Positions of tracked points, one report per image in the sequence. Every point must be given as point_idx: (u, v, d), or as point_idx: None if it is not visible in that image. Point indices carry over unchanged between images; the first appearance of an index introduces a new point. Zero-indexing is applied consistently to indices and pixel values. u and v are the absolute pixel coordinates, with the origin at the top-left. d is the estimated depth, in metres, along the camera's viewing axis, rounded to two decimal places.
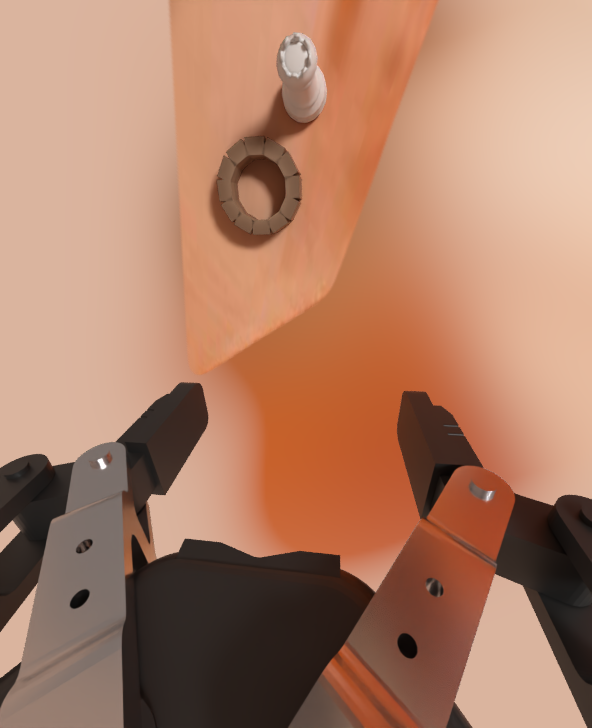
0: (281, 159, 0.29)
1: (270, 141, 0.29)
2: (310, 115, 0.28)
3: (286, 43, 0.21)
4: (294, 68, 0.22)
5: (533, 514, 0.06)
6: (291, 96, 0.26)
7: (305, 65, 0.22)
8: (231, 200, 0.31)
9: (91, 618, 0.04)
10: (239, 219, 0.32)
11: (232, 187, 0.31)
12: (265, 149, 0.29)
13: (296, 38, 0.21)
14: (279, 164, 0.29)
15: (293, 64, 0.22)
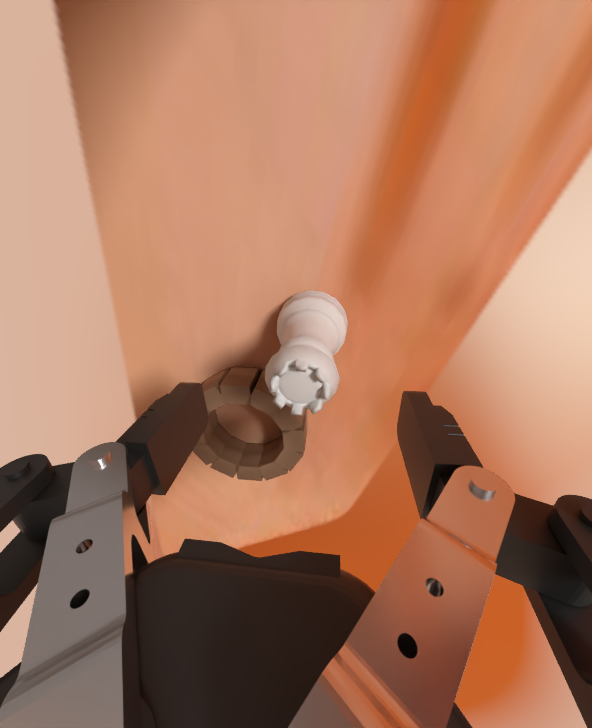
0: (276, 412, 0.19)
1: (259, 393, 0.19)
2: None
3: (283, 375, 0.11)
4: (296, 399, 0.12)
5: (533, 514, 0.06)
6: None
7: (317, 396, 0.12)
8: (204, 445, 0.22)
9: (91, 618, 0.04)
10: (217, 463, 0.22)
11: None
12: (252, 400, 0.19)
13: (301, 371, 0.11)
14: (274, 417, 0.19)
15: (295, 394, 0.12)
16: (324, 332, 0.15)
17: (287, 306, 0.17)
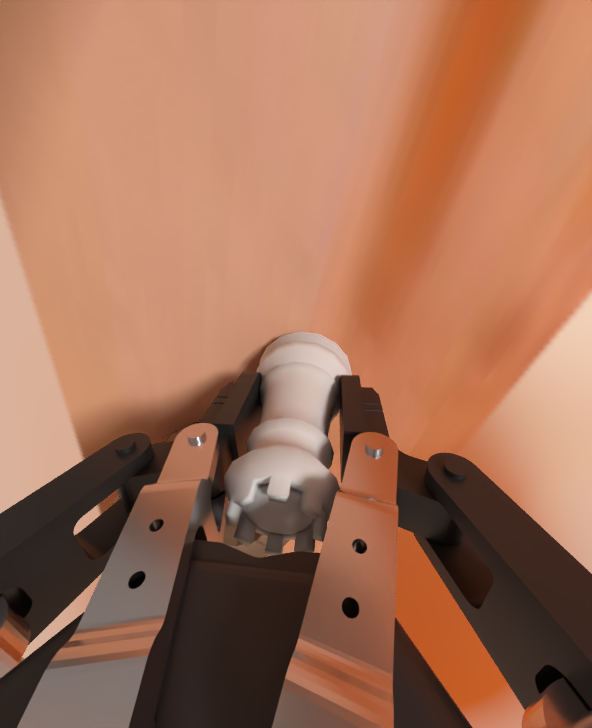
0: None
1: None
2: None
3: (248, 504, 0.07)
4: (273, 530, 0.07)
5: (415, 470, 0.07)
6: None
7: (307, 526, 0.07)
8: None
9: (138, 607, 0.04)
10: None
11: None
12: None
13: (277, 501, 0.06)
14: None
15: (271, 524, 0.07)
16: (319, 401, 0.10)
17: (269, 354, 0.12)
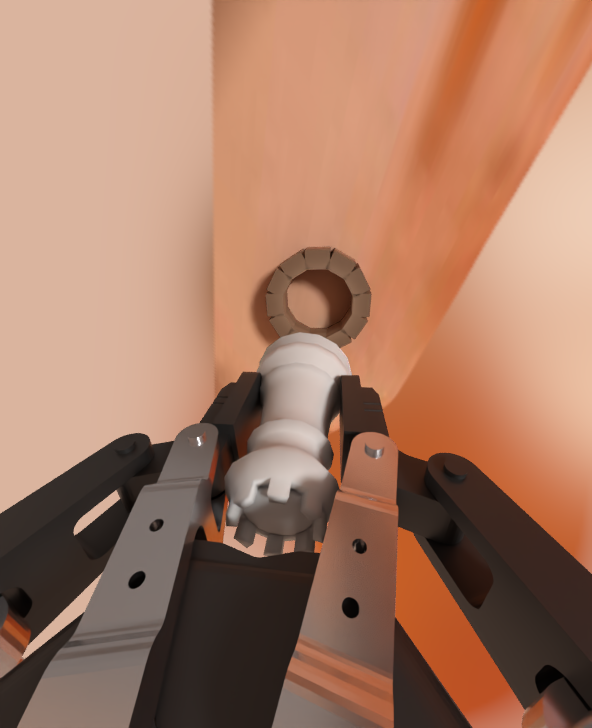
0: (350, 276, 0.23)
1: (338, 255, 0.23)
2: None
3: (248, 505, 0.07)
4: (273, 531, 0.08)
5: (415, 470, 0.07)
6: None
7: (307, 527, 0.07)
8: (282, 316, 0.25)
9: (139, 607, 0.04)
10: None
11: (283, 300, 0.25)
12: (330, 264, 0.23)
13: (277, 502, 0.07)
14: (347, 281, 0.23)
15: (271, 525, 0.07)
16: (318, 402, 0.10)
17: (269, 355, 0.12)
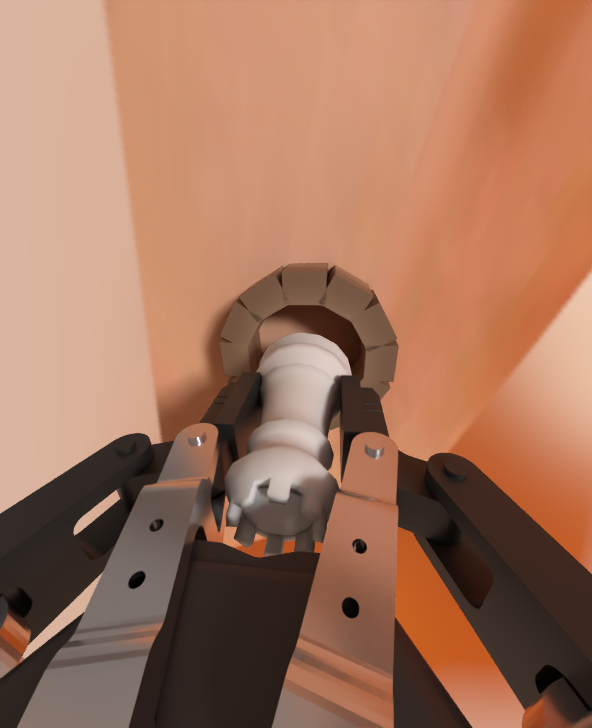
0: (362, 316, 0.13)
1: (341, 282, 0.13)
2: None
3: (248, 505, 0.07)
4: (273, 531, 0.08)
5: (415, 470, 0.07)
6: None
7: (307, 528, 0.07)
8: None
9: (138, 607, 0.04)
10: None
11: (250, 351, 0.15)
12: (328, 296, 0.13)
13: (277, 503, 0.07)
14: (357, 324, 0.13)
15: (271, 525, 0.07)
16: (318, 402, 0.10)
17: (269, 356, 0.12)
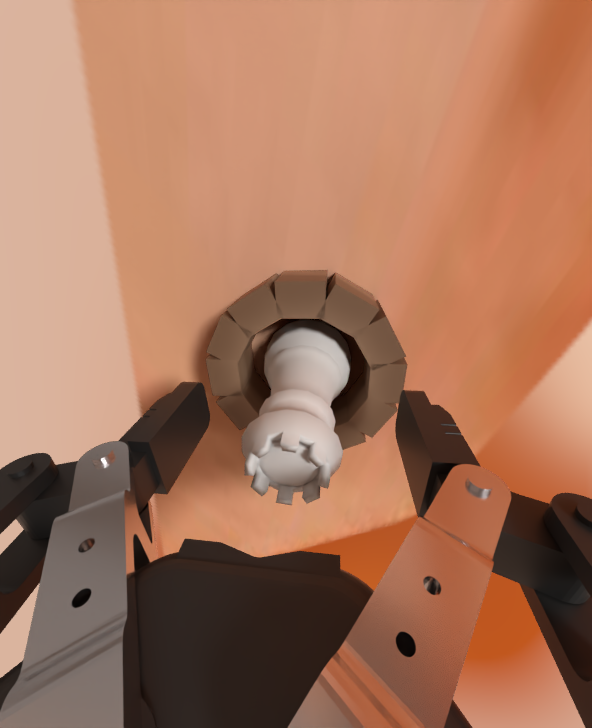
0: (366, 332, 0.12)
1: (342, 293, 0.11)
2: None
3: (263, 455, 0.08)
4: (284, 482, 0.09)
5: (529, 512, 0.06)
6: None
7: (313, 478, 0.09)
8: (239, 396, 0.14)
9: (93, 617, 0.04)
10: None
11: (241, 368, 0.14)
12: (327, 309, 0.11)
13: (288, 451, 0.08)
14: (360, 340, 0.12)
15: (282, 476, 0.09)
16: (322, 378, 0.11)
17: (276, 340, 0.13)
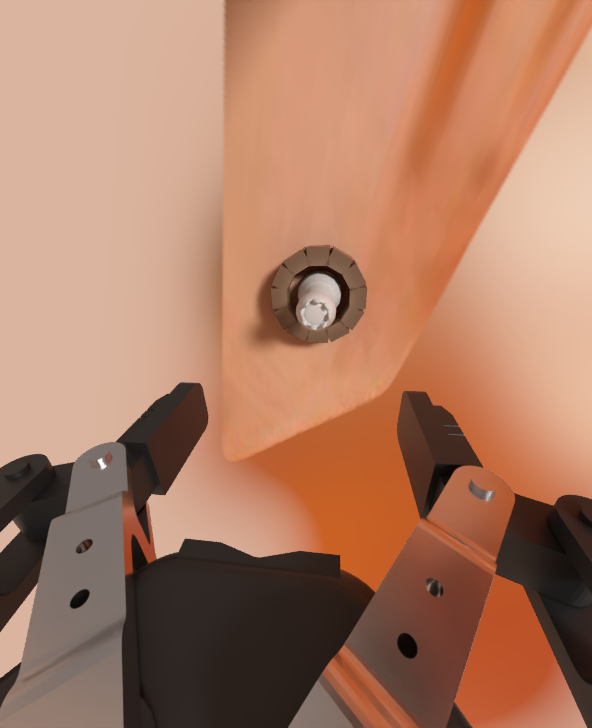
0: (347, 271, 0.26)
1: (336, 253, 0.25)
2: None
3: (307, 306, 0.22)
4: (313, 322, 0.23)
5: (533, 514, 0.06)
6: None
7: (324, 319, 0.23)
8: (286, 308, 0.28)
9: (92, 618, 0.04)
10: (293, 327, 0.29)
11: (287, 294, 0.28)
12: (330, 261, 0.25)
13: (316, 303, 0.22)
14: (345, 276, 0.26)
15: (313, 319, 0.23)
16: (327, 291, 0.25)
17: (305, 279, 0.27)
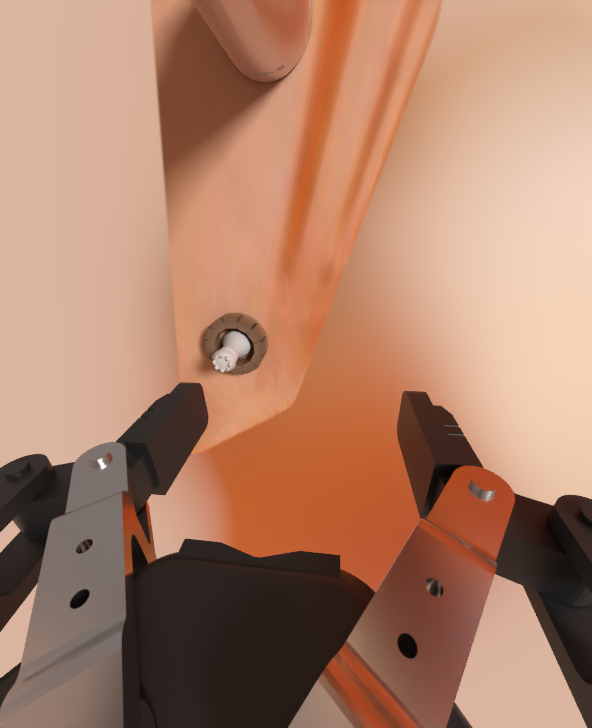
0: (250, 332, 0.40)
1: (241, 321, 0.40)
2: (242, 356, 0.43)
3: (216, 359, 0.37)
4: (221, 367, 0.38)
5: (533, 514, 0.06)
6: None
7: (228, 366, 0.37)
8: None
9: (91, 619, 0.04)
10: None
11: (215, 344, 0.43)
12: (238, 325, 0.40)
13: (221, 357, 0.37)
14: (248, 334, 0.41)
15: (221, 365, 0.37)
16: (236, 345, 0.40)
17: (226, 334, 0.42)
